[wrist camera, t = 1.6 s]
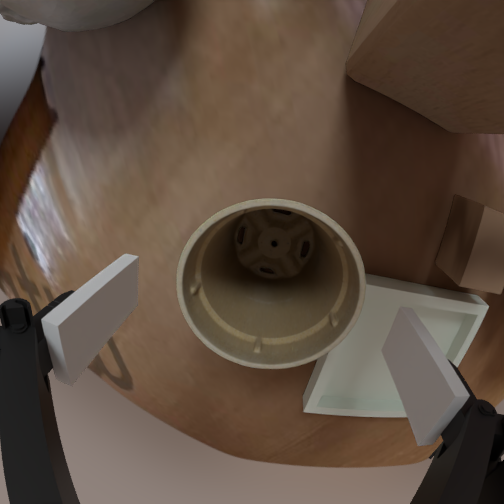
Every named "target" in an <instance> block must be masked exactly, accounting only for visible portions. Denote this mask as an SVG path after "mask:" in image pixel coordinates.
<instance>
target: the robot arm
mask: <svg viewBox="0 0 504 504" xmlns="http://www.w3.org/2000/svg"><path fill="white" fill-rule="evenodd" d="M138 263H139V256H134V255H130V254H124V255H122V256H121V257H120V258H118V259H117V260H116V261H114V262H113V263H112V264H110V265H109V266H108V267H106V268H105V269H104V270H102V271H101V272H100V273H98V274H97V275H96V276H94V277H93V278H92V279H91V280H89V281H88V282H87V283H85V284H84V285H83V286H82V287H80V288H79V289H78V290H76V291H72V290H71V291H68V292H66V293H63V294H61V295H60V296H58V297H57V298H56V299H55V300H54V301H52V302H51V303H49V304H48V306H46V307H44V308H43V309H42V310H41V311H39V312H38V313H37V314H36V315H34V316H33V315H32V310H31V306H30V303H29V302H28V301H27V300H24V299H21V298H14V299H9V300H7V301H5V302H4V303H2V304H1V305H0V319H1V323H2V326H0V441H1V451H2V460H3V467H4V475H5V480H6V486H7V491H8V497H9V501H10V504H80V502H79V500H78V497H77V494H76V491H75V488H74V485H73V482H72V479H71V476H70V473H69V469H68V466H67V463H66V459H65V455H64V452H63V448H62V444H61V440H60V436H59V431H58V427H57V422H56V417H55V412H54V406H53V400H52V395H51V388H50V380H49V377H48V373H49V372H50V370H51V369H52V368H53V370H54V374H55V377H56V379H57V380H59V381H61V382H63V383H65V384H68V385H70V386H72V385H73V384H74V383H75V382H76V380H77V379H78V377H79V376H80V375H81V374H82V372H83V371H84V370H85V369H86V368H87V366H88V365H89V364H90V362H91V361H92V360H93V359H94V357H95V356H96V355H97V354H98V353H99V351H100V350H101V349H102V348H103V346H104V345H105V344H106V343H107V341H108V340H109V339H110V338H111V337H112V335H113V334H114V333H115V332H116V331H117V329H118V328H119V327H120V326H121V325H122V323H123V322H124V321H125V320H126V319H127V317H128V316H129V315H130V314H131V313H132V311H133V310H134V309H135V308H136V307H137V306H138ZM381 352H382V354H383V356H384V359H385V361H386V364H387V366H388V368H389V371H390V373H391V376H392V378H393V381H394V383H395V386H396V388H397V391H398V393H399V396H400V398H401V401H402V404H403V406H404V409H405V411H406V414H407V417H408V420H409V422H410V425H411V428H412V431H413V433H414V436H415V439H416V442H417V445H418V446H423V445H432V444H433V443H434V442H435V441H436V440H437V439H438V437H439V436H440V435H441V436H442V438H443V442H442V443H441V444H440V446H439V447H438V448H437V449H436V450H435V451H434V452H433V453H432V455H431V456H430V457H429V458H430V459H431V458H432V457H433V456H434V458H433V460H432V463H431V465H430V467H429V469H428V471H427V473H426V475H425V477H424V479H423V481H422V483H421V485H420V487H419V488H418V490H417V492H416V494H415V496H414V497H413V499H412V501H411V503H410V504H504V460H503V461H502V462H501V456H502V455H503V454H504V415H501V414H497V412H496V410H495V408H494V407H493V406H492V405H491V404H490V403H489V402H487V401H485V400H479V399H478V400H477V399H476V397H475V395H474V394H473V392H472V391H471V389H470V387H469V386H468V384H467V382H466V381H464V380H465V379H464V378H463V376H462V375H461V373H460V371H459V370H458V368H457V367H456V366H455V365H454V364H453V363H452V362H451V361H450V360H449V359H447V358H446V357H445V355H444V354H443V352H442V351H441V349H440V348H439V346H438V345H437V343H436V342H435V340H434V339H433V337H432V336H431V334H430V333H429V331H428V330H427V329H426V327H425V326H424V324H423V323H422V321H421V320H420V319H419V317H418V316H417V314H416V313H415V312H414V310H413V309H412V308H407V307H401V306H400V307H399V310H398V312H397V315H396V317H395V319H394V322H393V324H392V327H391V329H390V331H389V334H388V336H387V338H386V340H385V343H384V345H383V347H382V349H381Z"/></svg>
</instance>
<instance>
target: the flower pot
mask: <svg viewBox="0 0 504 504" xmlns="http://www.w3.org/2000/svg"><path fill="white" fill-rule="evenodd" d="M273 209H282V210H287V211H291V214H290V215H285V214H283V213H278V212H274V211H273ZM241 227H244V228H245V232H244V237H243V243H239V242H238V232H239V230H240V228H241ZM272 241H276V243H277V245H276V246H272V244H271V242H272ZM306 241H307V242H309V243H310V247H309V250H308V251H307V255H306V256H305V257H303V256H301V251H302V248H303V244H304V242H306ZM261 267H262V268H268V269H270V270H273V271H274V273H267V272H263V271H261V270H260V268H261ZM176 288H177V296H178V301H179V305H180V308H181V311H182V314H183V316H184V318H185V320H186V322H187V323H188V325H189V327H190V328H191V329H192V331H193V332H194V334H195V335H196V336H197V337H198V338H199V339H200V340H201V341H202V342H203V343H204V344H205V345H206V346H207V347H208V348H209V349H211V350H212V351H214V352H215V353H217V354H218V355H220V356H222V357H224V358H225V359H227V360H230V361H232V362H234V363H238V364H240V365H243V366H248V367H251V368H260V369H284V368H290V367H296V366H300V365H303V364H306V363H308V362H311V361H314V360H316V359H318V358H320V357H321V356H323V355H325V354H326V353H328V352H329V351H331V350H332V349H334V348H335V347H336V346H337V345H338V344H340V343H341V342H342V341H343V340H344V339H345V338H346V336H347V335H348V333H349V332H350V331H351V330H352V328H353V327H354V326H355V324H356V322H357V320H358V318H359V316H360V313H361V311H362V307H363V303H364V300H365V292H366V278H365V270H364V265H363V262H362V258H361V256H360V253H359V251H358V249H357V247H356V246H355V244H354V242H353V241H352V239H351V238H350V236H349V235H348V234H347V233H346V232H345V231H344V229H343V228H342V227H341V226H339V225H338V224H337V223H336V222H335V221H334V220H332V219H331V218H330V217H328V216H327V215H325V214H324V213H322V212H320V211H318V210H316V209H314V208H312V207H310V206H307V205H305V204H302V203H299V202H295V201H291V200H284V199H255V200H249V201H245V202H241V203H238V204H235V205H232V206H229V207H227V208H225V209H223V210H221V211H219V212H218V213H216V214H214V215H213V216H212V217H210V218H209V219H208V220H207V221H205V222H204V223H203V224H202V225H201V226H200V227H199V228H198V229H197V230H196V231H195V232H194V233H193V234H192V236H191V237H190V239H189V241H188V242H187V244H186V246H185V247H184V249H183V252H182V254H181V257H180V260H179V264H178V269H177V277H176Z"/></svg>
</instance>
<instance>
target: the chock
mask: <svg viewBox="0 0 504 504" xmlns="http://www.w3.org/2000/svg"><path fill="white" fill-rule="evenodd" d="M435 264H436V265H437V266H438V267H439V268H440V269H441V270H442V271H443V272H444V273H446V274H447V275H448V276H449V277H450V278H451V279H452V280H453V281H454V282H455V283H456V284H457V285H458V286H461V287H466V288H471V289H476V290H481V291H486V292H491V293H496V294H501V292H502V290H503V288H504V213H502V212H499V211H497V210H494V209H492V208H489V207H487V206H485V205H482V204H479V203H477V202H474V201H472V200H469V199H466V198H464V197H461V196H458V195H455V196H454V200H453V204H452V208H451V212H450V216H449V219H448V223H447V226H446V230H445V233H444V237H443V240H442V243H441V246H440V250H439V253H438V256H437V259H436V262H435Z"/></svg>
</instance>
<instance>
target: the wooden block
mask: <svg viewBox="0 0 504 504" xmlns="http://www.w3.org/2000/svg"><path fill="white" fill-rule="evenodd" d="M346 70H347V75H349V76H350V77H351V78H352V79H353V80H354V81H356V82H358V83H360V84H362V85H365V86H367V87H369V88H371V89H373V90H375V91H377V92H379V93H382V94H384V95H386V96H388V97H390V98H391V99H393V100H395V101H397V102H399V103H401V104H403V105H405V106H407V107H408V108H410V109H412V110H414V111H416V112H417V113H419V114H421V115H423V116H424V117H426V118H428V119H429V120H431V121H433V122H434V123H436V124H438V125H439V126H441V127H442V128H444V129H446V130H447V131H449V132H453V133H485V134H504V0H367V3H366V6H365V9H364V12H363V15H362V18H361V21H360V24H359V27H358V30H357V33H356V36H355V38H354V41H353V44H352V47H351V50H350V53H349V56H348V59H347V61H346Z"/></svg>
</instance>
